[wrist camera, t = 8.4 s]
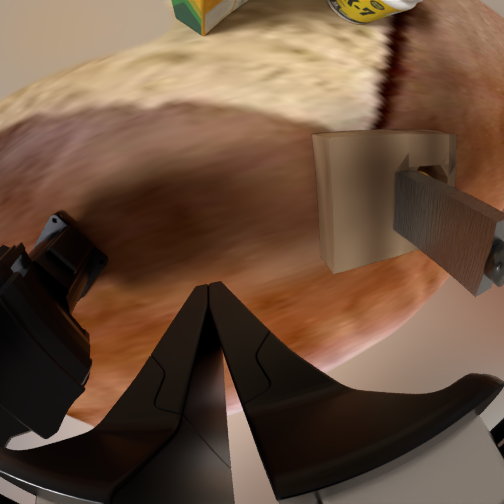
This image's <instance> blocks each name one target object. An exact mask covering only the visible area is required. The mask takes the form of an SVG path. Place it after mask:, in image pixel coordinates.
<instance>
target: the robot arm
mask: <svg viewBox="0 0 504 504" xmlns="http://www.w3.org/2000/svg"><path fill="white" fill-rule="evenodd" d="M54 218H56V219H57V222H56V221H55V220H54ZM100 259H102V260H103V261H104V262H102V261H101V260H100ZM107 262H108V258H107V257H106V256H105V255H104V254H103V253H102V252H101V251H99V250H98V249H97V248H96V247H95V246H94V245H92V243H91V242H90V241H89V240H88V239H87V238H85V237H84V236H83V235H82V234H81V233H80V232H79V231H78V230H76V229H75V228H74V227H73V226H72V225H70V224H69V223H68V222H67V221H65V220H64V219H63V218H62V217H61V216H60V215H59V214H57V213H55V214H53V215H52V216H51V217H50V219H49V220H48V222H47V224H46V226H45V228H44V229H43V231H42V233H41V235H40V237H39V239H38V241H37V243H36V245H35V246H34V248H33V250H32V251H31V252H30V253H29V254H27V253H26V251H25V247H24V245H23V243H22V242H21V243H20V244H19V245H17V246H15V245H14V246H12V247H10V248H9V247H7V246H5V245H2V246H1V247H0V477H2V478H4V479H5V480H7V481H9V482H10V483H12V484H14V485H16V486H18V487H19V488H21V489H23V490H25V491H27V492H29V493H31V494H33V495H35V496H36V504H235V501H234V493H233V483H232V473H231V462H230V453H229V452H230V451H229V439H228V427H227V413H226V399H225V383H224V365H223V354H224V357H225V360H226V363H227V365H228V368H229V371H230V374H231V377H232V380H233V383H234V386H235V389H236V391H237V394H238V397H239V400H240V402H241V405H242V408H243V411H244V413H245V416H246V419H247V421H248V424H249V427H250V430H251V433H252V435H253V439H254V441H255V444H256V447H257V450H258V452H259V455H260V458H261V461H262V463H263V466H264V469H265V471H266V474H267V476H268V479H269V482H270V484H271V487H272V490H273V492H274V495H275V497H276V500H277V501H278V502H279V504H504V418H503V419H502V420H501V421H500V422H499V423H498V424H497V425H496V426H495V427H494V428H493V429H492V430H491V431H489V430H488V429H487V427H486V425H485V424H484V422H483V421H482V419H481V418H480V416H479V415H480V414H481V413H482V412H483V411H484V410H485V409H486V408H487V406H488V405H489V404H490V403H491V402H492V401H493V400H494V399H495V398H496V396H497V395H498V394H499V393H500V391H501V390H502V389H503V387H504V381H503V380H501V379H499V378H498V377H496V376H492V375H488V374H478V373H471V374H468V375H466V376H464V377H462V378H461V379H459V380H458V381H456V382H455V383H453V384H452V385H450V386H449V387H446V388H445V389H442V390H439V391H436V392H432V393H427V394H404V393H386V392H374V391H364V390H356V389H353V388H349V387H347V386H345V385H342V384H340V383H339V382H337V381H336V380H334V379H333V378H331V377H329V376H328V375H326V374H325V373H323V372H322V371H320V370H319V369H317V368H316V367H314V366H313V365H312V364H310V363H309V362H307V361H306V360H304V359H303V358H301V357H300V356H299V355H297V354H296V353H295V352H293V351H292V350H291V349H289V348H288V347H287V346H286V345H285V344H284V343H283V342H281V341H280V340H279V339H278V338H277V337H276V336H275V335H274V334H273V333H271V331H270V330H269V329H268V328H267V327H266V326H265V325H264V324H263V323H262V322H261V321H260V320H259V319H258V318H257V317H256V316H255V315H254V314H253V313H252V312H251V311H250V310H249V309H248V308H247V307H246V306H245V305H244V304H243V303H242V302H241V301H240V300H239V299H238V298H237V297H236V296H235V295H234V294H233V293H232V292H231V291H230V290H229V289H228V288H227V287H226V286H225V285H224V284H223V283H222V282H221V281H218V282H214V283H210V284H209V286H208V285H207V284H205V285H200V286H196V287H195V288H194V290H193V291H192V293H191V294H190V296H189V297H188V299H187V300H186V302H185V303H184V305H183V306H182V308H181V309H180V311H179V312H178V314H177V315H176V317H175V318H174V320H173V321H172V323H171V324H170V326H169V327H168V329H167V331H166V332H165V334H164V335H163V337H162V338H161V340H160V341H159V343H158V344H157V346H156V348H155V349H154V351H153V352H152V354H151V356H150V357H149V358H148V360H147V361H146V363H145V365H144V366H143V368H142V369H141V371H140V372H139V373H138V375H137V376H136V378H135V379H134V380H133V382H132V383H131V384H130V386H129V387H128V388H127V390H126V391H125V392H124V394H123V395H122V396H121V397H120V399H119V400H118V401H117V402H116V404H115V405H114V406H113V407H112V409H111V410H110V411H109V412H108V414H107V415H106V416H105V418H104V419H103V420H102V421H101V422H100V423H99V424H98V425H97V426H96V427H95V428H93V429H92V430H90V431H88V432H86V433H84V434H81V435H78V436H75V437H72V438H69V439H65V440H62V441H59V442H55V443H52V444H48V445H44V446H41V447H37V448H33V449H28V450H10V449H7V448H6V446H7V444H8V443H9V441H10V440H11V438H13V437H16V436H19V435H22V434H25V433H28V432H31V431H33V432H35V433H36V434H38V435H39V436H41V437H42V438H44V439H48V438H49V437H51V436H52V435H54V434H55V433H57V432H58V430H59V427H60V426H61V423H62V421H63V419H64V417H65V415H66V413H67V411H68V409H69V408H70V407H71V405H72V404H73V403H74V401H75V400H76V399H77V398H78V397H79V396H80V395H81V394H82V393H83V392H84V391H85V387H84V386H85V384H86V383H87V381H88V378H89V375H90V370H91V367H92V359H91V358H90V343H89V333H88V332H87V331H86V330H85V329H83V328H82V327H81V326H80V325H79V324H78V323H77V321H76V320H75V319H74V318H73V317H72V315H71V314H72V312H73V310H74V308H75V306H76V304H77V302H78V301H79V300H80V298H81V297H82V296H83V294H84V293H85V292H86V290H87V289H88V288H89V286H90V285H91V284H92V282H93V281H94V280H95V278H96V277H97V276H98V275H99V273H100V272H101V271H102V269H103V268H104V267H105V266H106V264H107ZM0 504H19V503H17V502H15V501H13V500H11V499H9V498H7V497H5V496H4V495H1V494H0Z"/></svg>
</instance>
